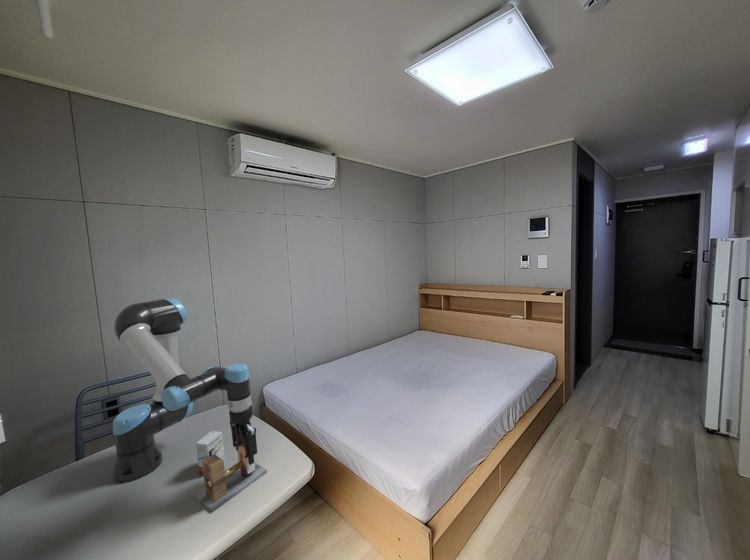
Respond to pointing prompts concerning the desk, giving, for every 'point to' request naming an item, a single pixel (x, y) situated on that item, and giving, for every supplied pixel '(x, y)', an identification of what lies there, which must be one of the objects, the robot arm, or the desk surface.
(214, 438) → the ink box
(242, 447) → the copper-capped brass rod
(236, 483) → the eye post
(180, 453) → the desk surface
